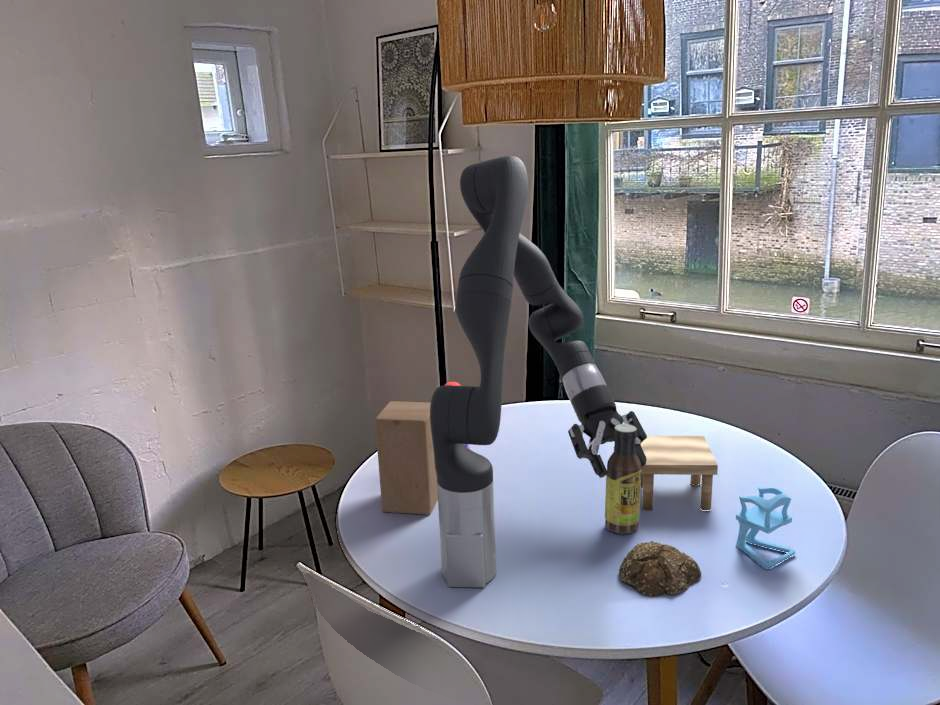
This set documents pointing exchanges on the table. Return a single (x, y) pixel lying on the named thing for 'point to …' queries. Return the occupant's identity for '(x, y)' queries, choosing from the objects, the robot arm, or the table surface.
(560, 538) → the table surface
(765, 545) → the chair
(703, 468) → the small wooden side table
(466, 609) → the table surface
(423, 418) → the wooden block
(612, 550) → the table surface
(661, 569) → the bread roll
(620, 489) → the sauce bottle
